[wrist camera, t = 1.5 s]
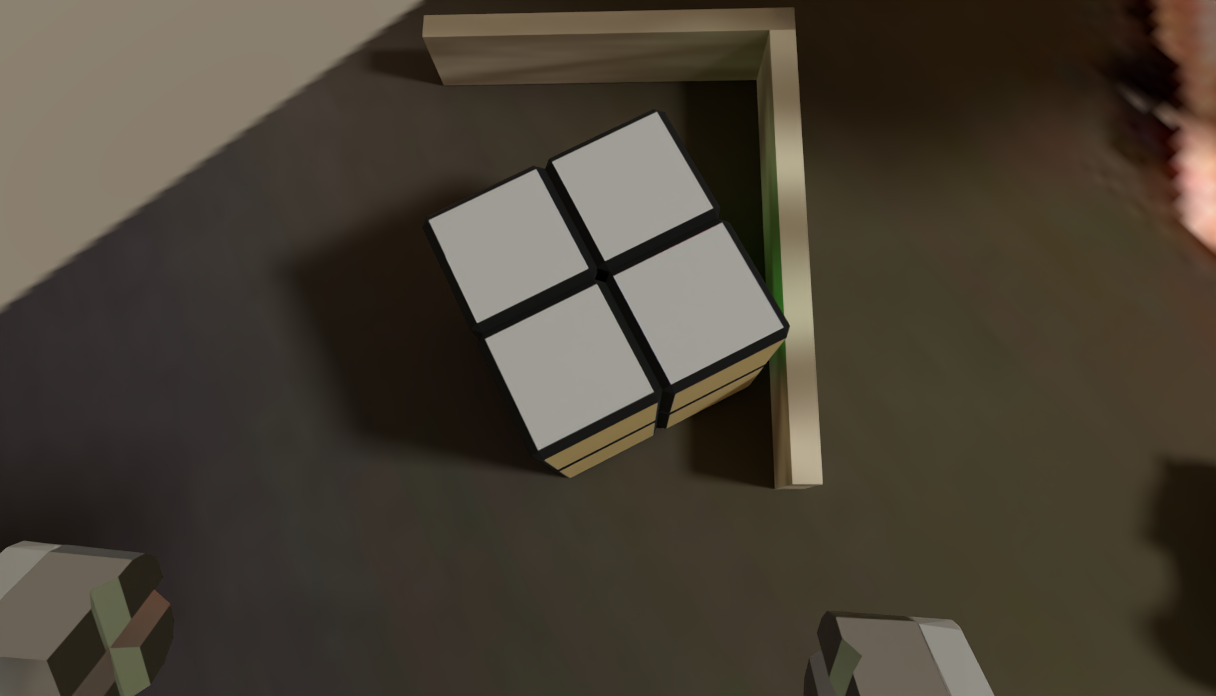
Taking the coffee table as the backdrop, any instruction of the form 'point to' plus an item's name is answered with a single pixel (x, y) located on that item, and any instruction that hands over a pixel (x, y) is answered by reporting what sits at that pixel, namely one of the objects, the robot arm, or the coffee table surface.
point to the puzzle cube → (607, 293)
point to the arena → (684, 53)
